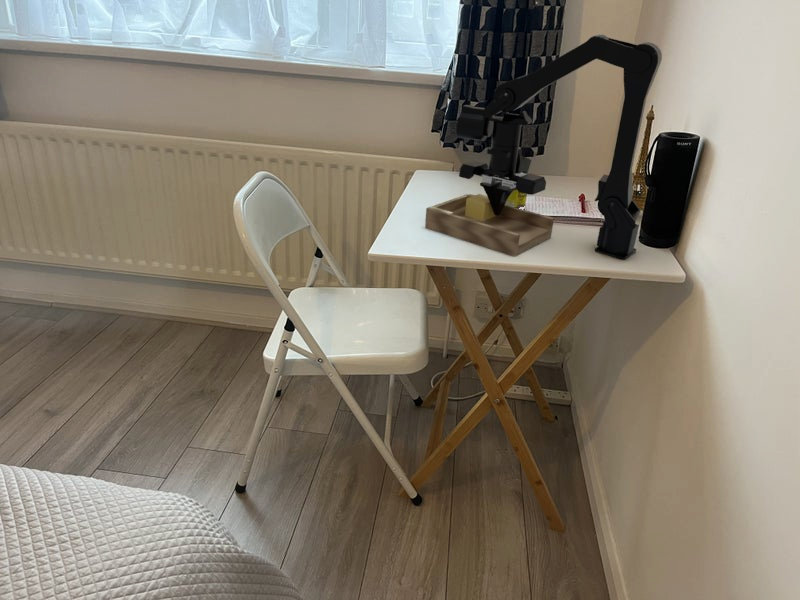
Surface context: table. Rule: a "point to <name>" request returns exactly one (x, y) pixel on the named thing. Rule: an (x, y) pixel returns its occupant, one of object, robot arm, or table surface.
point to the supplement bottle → (517, 197)
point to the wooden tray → (490, 226)
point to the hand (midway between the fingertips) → (497, 215)
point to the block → (479, 207)
